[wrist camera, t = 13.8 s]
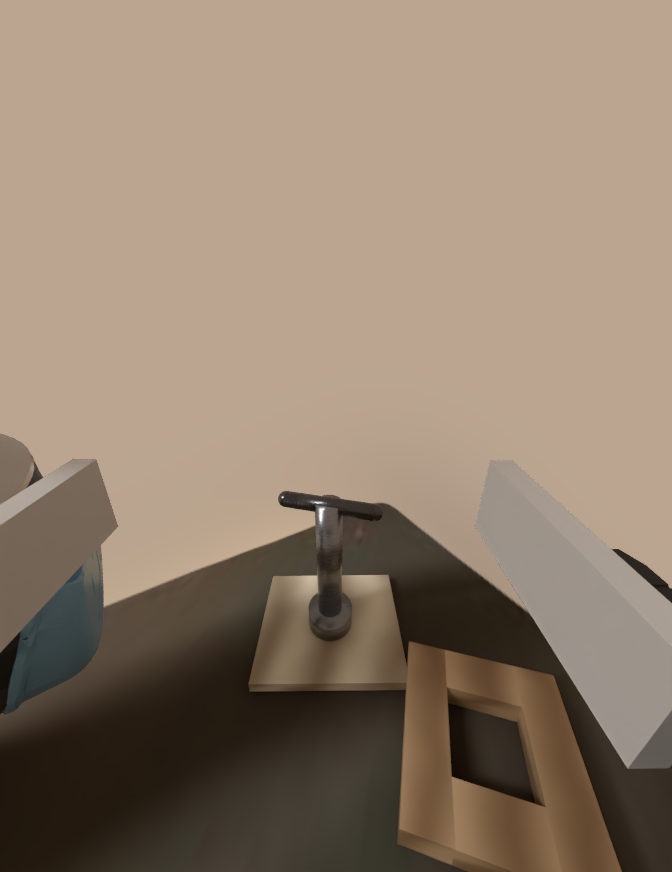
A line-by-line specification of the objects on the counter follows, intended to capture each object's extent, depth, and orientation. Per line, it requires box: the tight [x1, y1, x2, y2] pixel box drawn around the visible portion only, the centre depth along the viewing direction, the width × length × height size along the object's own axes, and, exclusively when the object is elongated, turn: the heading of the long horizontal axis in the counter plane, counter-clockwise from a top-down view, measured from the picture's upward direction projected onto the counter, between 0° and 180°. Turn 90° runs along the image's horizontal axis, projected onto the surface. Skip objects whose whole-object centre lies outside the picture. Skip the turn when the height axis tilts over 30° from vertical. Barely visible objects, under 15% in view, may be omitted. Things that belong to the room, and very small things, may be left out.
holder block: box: [397, 641, 622, 872], centre depth 23 cm, size 12×12×2 cm
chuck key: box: [278, 491, 383, 641], centre depth 30 cm, size 9×4×15 cm, turn 75°
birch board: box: [248, 575, 407, 692], centre depth 33 cm, size 14×12×1 cm
